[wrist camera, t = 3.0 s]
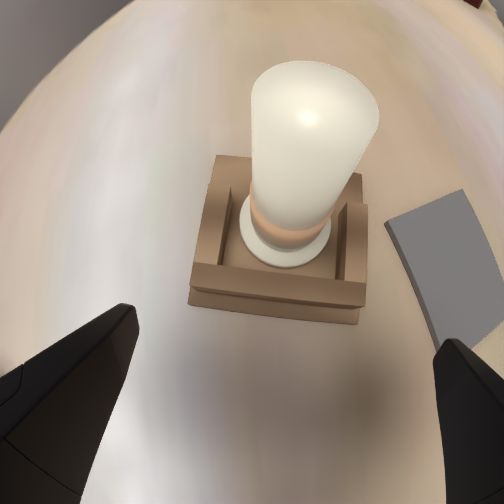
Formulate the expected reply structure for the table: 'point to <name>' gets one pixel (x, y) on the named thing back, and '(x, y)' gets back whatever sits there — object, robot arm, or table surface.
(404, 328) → the table surface
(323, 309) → the walnut tray
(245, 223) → the white tall banded cylinder
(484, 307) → the charcoal mat
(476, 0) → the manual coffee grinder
